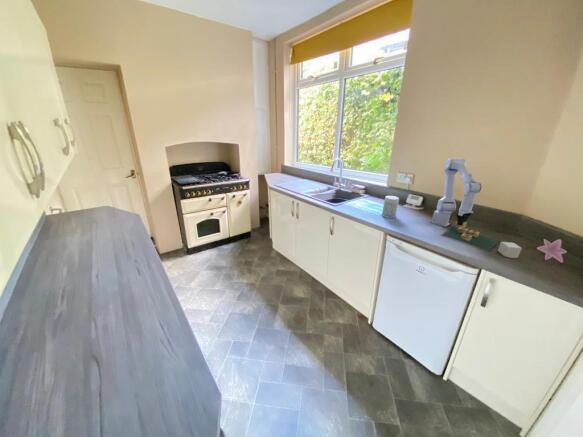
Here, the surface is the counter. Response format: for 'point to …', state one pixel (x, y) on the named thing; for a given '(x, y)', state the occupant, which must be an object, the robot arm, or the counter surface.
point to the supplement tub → (390, 206)
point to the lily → (552, 250)
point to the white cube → (509, 249)
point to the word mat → (476, 241)
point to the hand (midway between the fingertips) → (460, 224)
